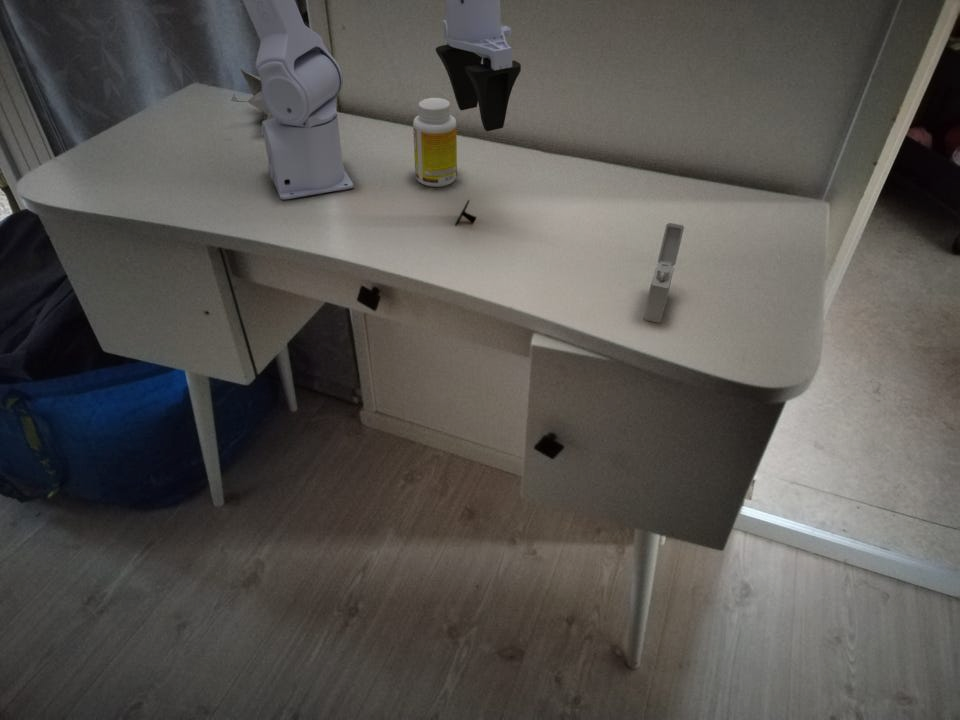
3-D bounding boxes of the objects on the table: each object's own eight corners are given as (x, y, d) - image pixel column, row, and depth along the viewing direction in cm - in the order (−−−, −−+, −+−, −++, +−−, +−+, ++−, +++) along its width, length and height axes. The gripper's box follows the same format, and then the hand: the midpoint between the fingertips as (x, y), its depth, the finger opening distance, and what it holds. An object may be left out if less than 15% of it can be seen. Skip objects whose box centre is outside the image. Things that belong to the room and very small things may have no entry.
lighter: (660, 323, 71) (675, 255, 66) (643, 319, 72) (657, 252, 67) (670, 285, 76) (685, 220, 71) (654, 282, 77) (668, 217, 72)
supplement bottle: (465, 180, 95) (465, 104, 88) (432, 192, 92) (429, 115, 85) (440, 166, 98) (438, 91, 91) (407, 177, 95) (403, 101, 88)
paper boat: (308, 123, 105) (247, 119, 100) (295, 150, 110) (236, 148, 105) (285, 58, 108) (225, 51, 103) (273, 87, 113) (215, 82, 108)
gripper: (538, -6, 68) (540, 131, 77) (480, -30, 79) (487, 93, 88) (471, 5, 67) (480, 144, 75) (420, -20, 77) (434, 104, 86)
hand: (480, 118), depth 81 cm, fingers open, 7 cm apart
